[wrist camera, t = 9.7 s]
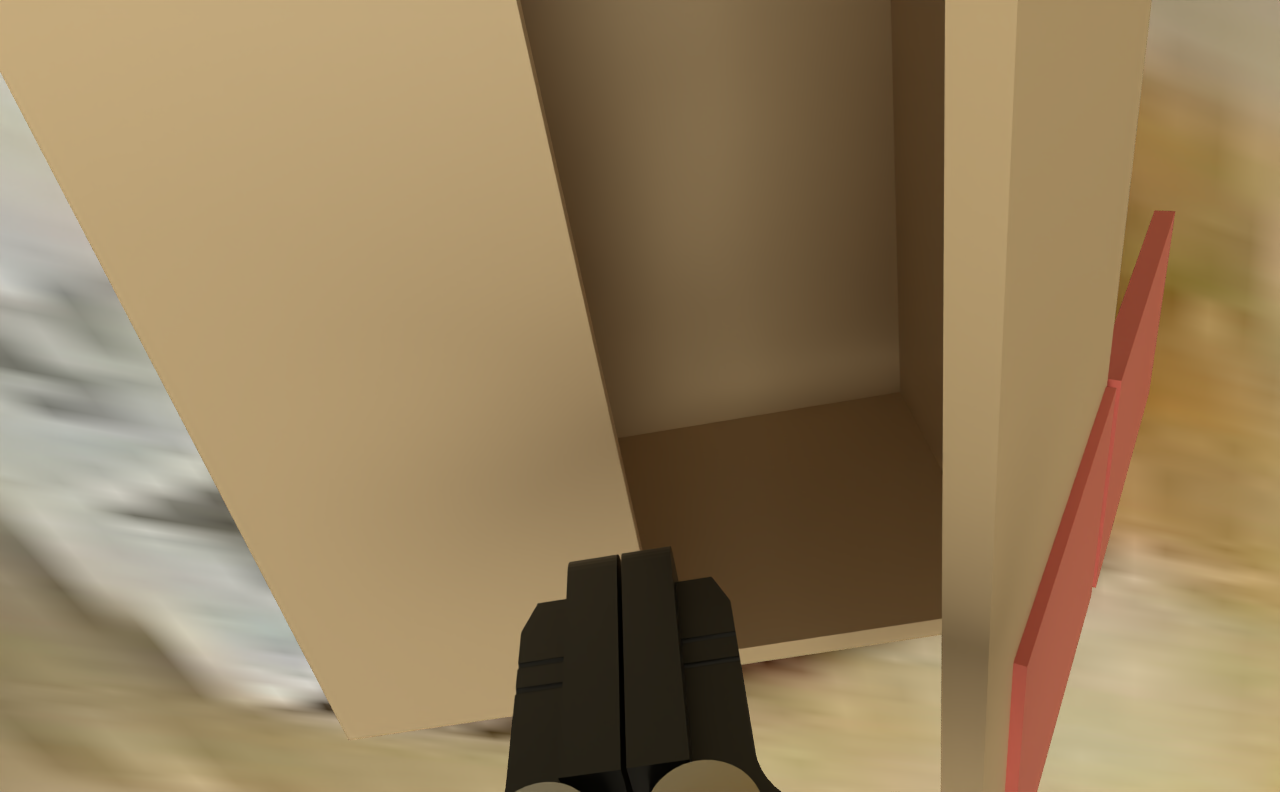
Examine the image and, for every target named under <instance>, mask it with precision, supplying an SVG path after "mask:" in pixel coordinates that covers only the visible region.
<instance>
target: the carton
mask: <svg viewBox="0 0 1280 792" xmlns="http://www.w3.org/2000/svg"><path fill="white" fill-rule="evenodd" d="M0 72H1V74H2V76H3V78H4V80H5V82H6V84H7V85H8V87H9V89H10V91H11V93H12V95H13V97H14V99H15V101H16V103H17V105H18V107H19V109H20V110H21V112H22V114H23V116H24V118H25V120H26V122H27V124H28V126H29V128H30V130H31V132H32V133H33V135H34V137H35V139H36V141H37V143H38V145H39V147H40V149H41V151H42V153H43V155H44V156H45V158H46V160H47V162H48V164H49V166H50V168H51V170H52V172H53V174H54V176H55V178H56V180H57V181H58V183H59V185H60V187H61V189H62V191H63V193H64V195H65V197H66V199H67V201H68V203H69V204H70V206H71V208H72V210H73V212H74V214H75V216H76V218H77V220H78V222H79V224H80V226H81V228H82V229H83V231H84V233H85V235H86V237H87V239H88V241H89V243H90V245H91V247H92V249H93V251H94V252H95V254H96V256H97V258H98V260H99V262H100V264H101V266H102V268H103V270H104V272H105V274H106V275H107V277H108V279H109V281H110V283H111V285H112V287H113V289H114V291H115V293H116V295H117V297H118V298H119V300H120V302H121V304H122V306H123V308H124V310H125V312H126V314H127V316H128V318H129V320H130V322H131V323H132V325H133V327H134V329H135V331H136V333H137V335H138V337H139V339H140V341H141V343H142V345H143V346H144V348H145V350H146V352H147V354H148V356H149V358H150V360H151V362H152V364H153V366H154V368H155V369H156V371H157V373H158V375H159V377H160V379H161V381H162V383H163V385H164V387H165V389H166V391H167V393H168V394H169V396H170V398H171V400H172V402H173V404H174V406H175V408H176V410H177V412H178V414H179V416H180V417H181V419H182V421H183V423H184V425H185V427H186V429H187V431H188V433H189V435H190V437H191V439H192V441H193V442H194V444H195V446H196V448H197V450H198V452H199V454H200V456H201V458H202V460H203V462H204V464H205V465H206V467H207V469H208V471H209V473H210V475H211V477H212V479H213V481H214V483H215V485H216V487H217V488H218V490H219V492H220V494H221V496H222V498H223V500H224V502H225V504H226V506H227V508H228V510H229V512H230V513H231V515H232V517H233V519H234V521H235V523H236V525H237V527H238V529H239V531H240V533H241V535H242V536H243V538H244V540H245V542H246V544H247V546H248V548H249V550H250V552H251V554H252V556H253V558H254V559H255V561H256V563H257V565H258V567H259V569H260V571H261V573H262V575H263V577H264V579H265V581H266V583H267V584H268V586H269V588H270V590H271V592H272V594H273V596H274V598H275V600H276V602H277V604H278V606H279V607H280V609H281V611H282V613H283V615H284V617H285V619H286V621H287V623H288V625H289V627H290V629H291V630H292V632H293V634H294V636H295V638H296V640H297V642H298V644H299V646H300V648H301V650H302V652H303V654H304V655H305V657H306V659H307V661H308V663H309V665H310V667H311V669H312V671H313V673H314V675H315V677H316V678H317V680H318V682H319V684H320V686H321V688H322V690H323V692H324V694H325V696H326V698H327V700H328V701H329V703H330V705H331V707H332V709H333V711H334V713H335V715H336V717H337V719H338V721H339V723H340V725H341V726H342V728H343V730H344V732H345V734H346V736H347V738H348V740H355V739H361V738H368V737H375V736H382V735H388V734H395V733H402V732H408V731H415V730H422V729H429V728H435V727H442V726H449V725H456V724H462V723H469V722H476V721H483V720H489V719H496V718H503V717H510V716H513V709H514V699H515V695H516V678H517V669H519V666H518V658H519V648H520V638H521V632H522V630H523V628H524V626H525V625H526V623H527V621H528V620H529V618H530V616H531V614H532V613H533V611H534V609H535V607H536V606H537V604H538V603H543V602H549V601H556V600H563V599H566V593H567V571H568V564H569V562H572V561H578V560H585V559H591V558H598V557H604V556H611V555H617V554H618V555H619V556H620V559H621V555H622V553H629V552H635V551H641V550H648V549H654V548H661V547H667V546H671V548H672V552H673V557H674V562H675V566H676V571H677V576H678V581H686V580H692V579H699V578H706V577H712V578H713V579H714V580H715V581H716V583H717V584H718V585H719V587H720V588H721V589H722V590H723V592H724V593H725V594H726V596H727V597H728V598H729V599H730V601H731V607H732V613H733V619H734V625H735V631H736V637H737V643H738V649H739V655H740V661H741V664H748V663H755V662H761V661H768V660H775V659H781V658H788V657H795V656H802V655H808V654H815V653H822V652H828V651H835V650H842V649H848V648H855V647H862V646H868V645H875V644H882V643H889V642H895V641H902V640H909V639H915V638H922V637H929V636H935V635H942V494H943V306H944V119H945V0H0Z"/></svg>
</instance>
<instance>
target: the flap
mask: <svg viewBox="0 0 1280 792" xmlns="http://www.w3.org/2000/svg"><path fill="white" fill-rule="evenodd" d="M1151 2H1152V0H945V119H944V306H943V494H942V681H941V792H1037V790H1038V786H1039V782H1040V779H1041V775H1042V772H1043V768H1044V764H1045V761H1046V757H1047V754H1048V750H1049V746H1050V743H1051V739H1052V735H1053V732H1054V728H1055V725H1056V721H1057V717H1058V714H1059V710H1060V706H1061V703H1062V699H1063V696H1064V692H1065V688H1066V685H1067V681H1068V677H1069V674H1070V670H1071V667H1072V663H1073V659H1074V656H1075V652H1076V648H1077V645H1078V641H1079V638H1080V634H1081V630H1082V627H1083V623H1084V619H1085V616H1086V612H1087V609H1088V605H1089V601H1090V598H1091V592H1092V587H1095V588H1096V585H1097V581H1098V577H1099V574H1100V570H1101V566H1102V563H1103V559H1104V555H1105V552H1106V548H1107V544H1108V541H1109V537H1110V533H1111V530H1112V526H1113V522H1114V519H1115V515H1116V511H1117V508H1118V504H1119V501H1120V497H1121V493H1122V490H1123V486H1124V482H1125V479H1126V475H1127V471H1128V468H1129V464H1130V460H1131V457H1132V453H1133V449H1134V446H1135V442H1136V438H1137V435H1138V431H1139V427H1140V424H1141V420H1142V416H1143V413H1144V409H1145V405H1146V402H1147V398H1148V394H1149V389H1150V382H1151V375H1152V368H1153V361H1154V354H1155V347H1156V340H1157V333H1158V327H1159V320H1160V313H1161V306H1162V299H1163V292H1164V285H1165V278H1166V271H1167V265H1168V258H1169V251H1170V244H1171V237H1172V230H1173V223H1174V216H1175V211H1154V214H1153V217H1152V220H1151V223H1150V225H1149V228H1148V231H1147V234H1146V237H1145V239H1144V242H1143V245H1142V248H1141V251H1140V254H1139V256H1138V259H1137V262H1136V265H1135V268H1134V270H1133V273H1132V276H1131V279H1130V282H1129V285H1128V287H1127V290H1126V293H1125V296H1124V299H1123V302H1122V304H1121V307H1120V310H1119V313H1118V316H1117V318H1116V321H1115V312H1116V303H1117V295H1118V286H1119V278H1120V269H1121V260H1122V252H1123V243H1124V235H1125V226H1126V217H1127V209H1128V200H1129V191H1130V183H1131V174H1132V166H1133V157H1134V148H1135V140H1136V131H1137V123H1138V114H1139V105H1140V97H1141V88H1142V79H1143V71H1144V62H1145V54H1146V45H1147V36H1148V28H1149V19H1150V11H1151ZM1114 321H1115V324H1114Z"/></svg>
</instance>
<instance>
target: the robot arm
mask: <svg viewBox="0 0 1280 792" xmlns="http://www.w3.org/2000/svg"><path fill="white" fill-rule="evenodd" d="M518 666H519V669H517V678H516V695H515V699H514V709H513V719H512V729H511V739H510V750H509V760H508V770H507V780H506V789H505V792H781V791H780V790H779V789H777V788H776V787H775V786H774V785H773V784H772V783H771V782H770V781H769V780H768V779H767V777H766V776H765V774H764V773H763V771H762V770H761V767H760V765H759V763H758V761H757V757H756V752H755V746H754V740H753V734H752V728H751V722H750V716H749V710H748V703H747V697H746V691H745V685H744V679H743V673H742V667H741V661H740V655H739V649H738V643H737V637H736V631H735V625H734V619H733V613H732V607H731V601H730V599H729V598H728V597H727V596H726V594H725V593H724V592H723V590H722V589H721V588H720V587H719V585H718V584H717V583H716V581H715V580H714V579H713V578H712V577H706V578H699V579H692V580H686V581H678V576H677V571H676V566H675V562H674V557H673V552H672V548H671V546H667V547H661V548H654V549H648V550H641V551H635V552H629V553H622V555H621V559H620V556H619V555H618V554H617V555H611V556H604V557H598V558H591V559H585V560H578V561H572V562H569V564H568V571H567V593H566V599H563V600H556V601H549V602H543V603H538V604H537V606H536V607H535V609H534V611H533V613H532V614H531V616H530V618H529V620H528V621H527V623H526V625H525V626H524V628H523V630H522V632H521V638H520V648H519V658H518Z"/></svg>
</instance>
